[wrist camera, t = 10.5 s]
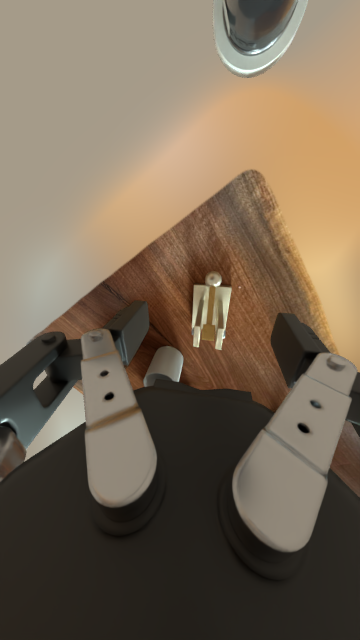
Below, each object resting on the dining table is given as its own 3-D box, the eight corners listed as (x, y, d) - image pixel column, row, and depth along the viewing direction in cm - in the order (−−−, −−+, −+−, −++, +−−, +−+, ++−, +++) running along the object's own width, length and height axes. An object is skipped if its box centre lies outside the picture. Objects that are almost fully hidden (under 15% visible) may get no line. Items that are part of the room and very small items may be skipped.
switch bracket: (194, 283, 42) (186, 308, 31) (231, 285, 41) (236, 312, 30) (192, 325, 47) (184, 359, 36) (224, 328, 46) (226, 364, 35)
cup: (188, 365, 54) (182, 394, 46) (163, 371, 57) (154, 399, 49) (174, 342, 51) (166, 369, 43) (149, 350, 54) (137, 376, 45)
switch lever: (205, 274, 38) (205, 268, 34) (221, 274, 37) (223, 268, 34) (199, 339, 36) (198, 339, 33) (216, 341, 36) (216, 341, 33)
